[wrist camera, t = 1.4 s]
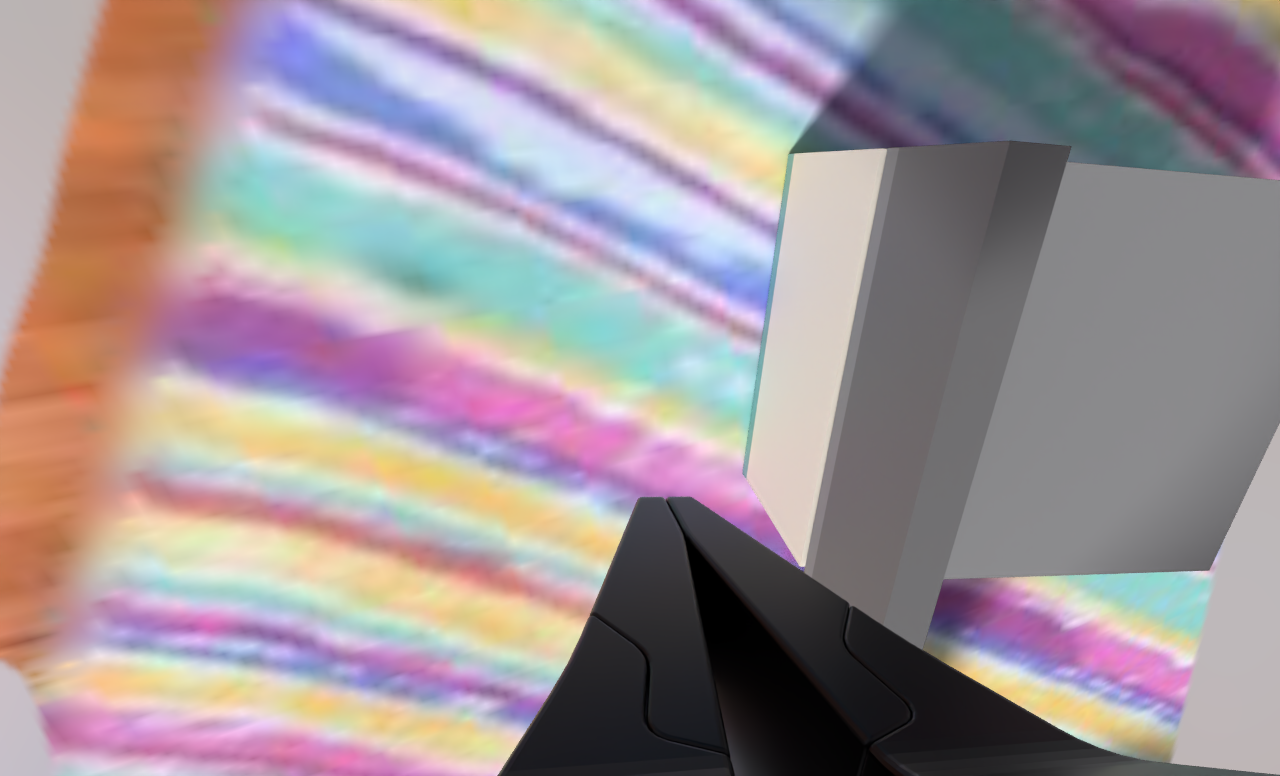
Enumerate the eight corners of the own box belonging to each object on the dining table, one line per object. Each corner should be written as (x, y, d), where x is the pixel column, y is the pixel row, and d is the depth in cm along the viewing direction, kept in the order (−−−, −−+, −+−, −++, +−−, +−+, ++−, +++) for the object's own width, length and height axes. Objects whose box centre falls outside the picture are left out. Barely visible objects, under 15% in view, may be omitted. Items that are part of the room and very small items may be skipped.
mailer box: (1049, 472, 26) (1185, 555, 20) (742, 473, 24) (800, 566, 18) (1148, 183, 22) (1353, 189, 16) (788, 153, 20) (881, 148, 14)
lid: (1193, 561, 20) (1339, 650, 16) (803, 572, 18) (869, 678, 14) (1366, 189, 16) (1614, 195, 12) (887, 148, 14) (1010, 141, 10)
